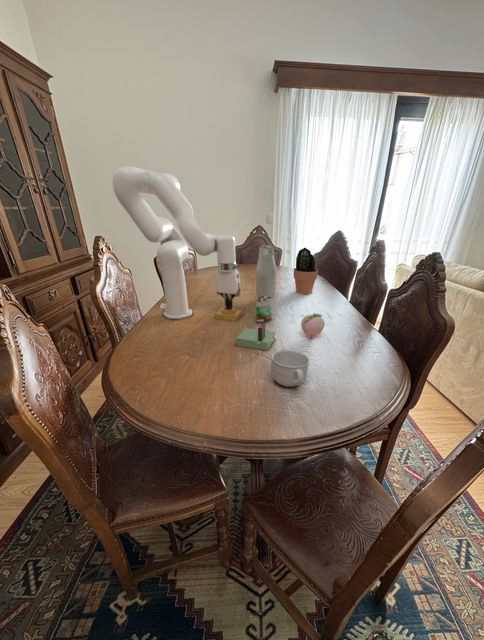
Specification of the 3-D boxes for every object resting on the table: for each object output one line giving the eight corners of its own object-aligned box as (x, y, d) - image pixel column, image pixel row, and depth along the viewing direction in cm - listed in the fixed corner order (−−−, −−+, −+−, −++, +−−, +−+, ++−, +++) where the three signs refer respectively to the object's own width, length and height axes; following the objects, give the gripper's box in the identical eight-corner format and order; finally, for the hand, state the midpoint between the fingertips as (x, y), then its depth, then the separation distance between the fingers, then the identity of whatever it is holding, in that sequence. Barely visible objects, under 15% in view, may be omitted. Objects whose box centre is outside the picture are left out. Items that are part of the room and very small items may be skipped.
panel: (234, 347, 104) (234, 339, 102) (245, 334, 114) (245, 327, 112) (269, 353, 100) (270, 345, 99) (278, 339, 110) (278, 332, 109)
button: (223, 312, 128) (223, 308, 128) (226, 309, 131) (226, 306, 131) (230, 313, 128) (230, 309, 127) (233, 310, 131) (233, 307, 130)
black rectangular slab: (261, 336, 106) (261, 322, 103) (265, 336, 105) (265, 323, 103) (257, 341, 102) (258, 327, 99) (261, 341, 101) (261, 328, 99)
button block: (214, 318, 129) (214, 310, 127) (222, 312, 135) (221, 304, 133) (235, 321, 126) (235, 312, 124) (242, 315, 133) (241, 306, 131)
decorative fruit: (309, 330, 119) (312, 307, 114) (326, 336, 114) (329, 312, 109) (295, 336, 113) (297, 312, 108) (312, 343, 108) (314, 318, 103)
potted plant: (317, 295, 161) (322, 249, 150) (293, 295, 161) (296, 249, 150) (313, 289, 173) (318, 245, 162) (291, 288, 173) (294, 245, 162)
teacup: (268, 371, 89) (269, 349, 86) (303, 370, 90) (305, 348, 87) (274, 399, 77) (275, 374, 73) (313, 397, 78) (316, 372, 74)
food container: (269, 325, 122) (270, 303, 118) (255, 324, 123) (255, 302, 119) (274, 315, 133) (275, 294, 128) (261, 314, 134) (261, 293, 129)
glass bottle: (278, 299, 155) (280, 244, 141) (268, 304, 147) (270, 247, 134) (262, 296, 159) (263, 243, 146) (252, 300, 151) (252, 245, 138)
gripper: (246, 265, 121) (247, 307, 130) (214, 263, 125) (217, 303, 134) (240, 269, 115) (241, 312, 124) (206, 267, 119) (210, 308, 127)
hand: (229, 307), depth 129 cm, fingers closed
